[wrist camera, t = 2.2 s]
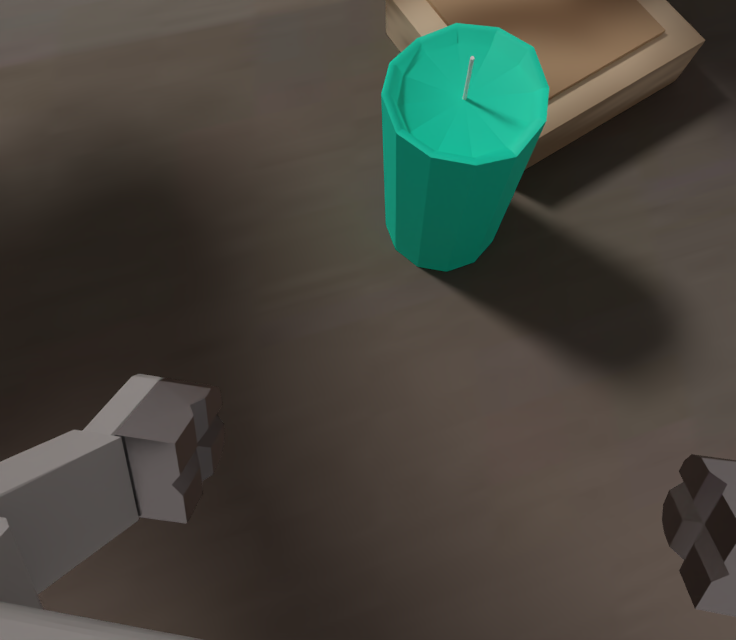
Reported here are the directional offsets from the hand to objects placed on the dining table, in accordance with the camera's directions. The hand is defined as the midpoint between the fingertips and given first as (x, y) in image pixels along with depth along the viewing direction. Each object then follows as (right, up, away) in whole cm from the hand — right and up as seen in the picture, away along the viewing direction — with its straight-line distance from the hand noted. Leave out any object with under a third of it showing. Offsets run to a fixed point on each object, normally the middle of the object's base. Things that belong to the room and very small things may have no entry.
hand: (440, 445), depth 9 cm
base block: (+8, +18, +22) cm, 29 cm away
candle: (+3, +8, +20) cm, 21 cm away
